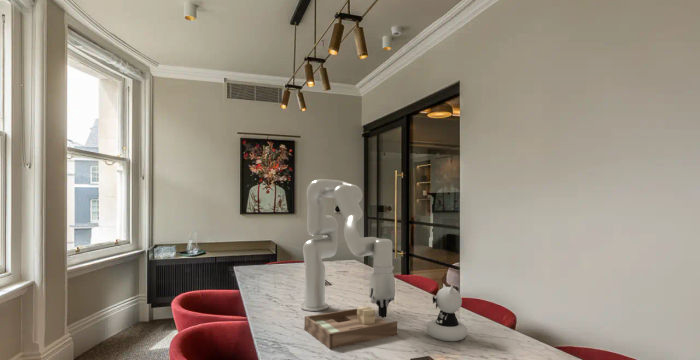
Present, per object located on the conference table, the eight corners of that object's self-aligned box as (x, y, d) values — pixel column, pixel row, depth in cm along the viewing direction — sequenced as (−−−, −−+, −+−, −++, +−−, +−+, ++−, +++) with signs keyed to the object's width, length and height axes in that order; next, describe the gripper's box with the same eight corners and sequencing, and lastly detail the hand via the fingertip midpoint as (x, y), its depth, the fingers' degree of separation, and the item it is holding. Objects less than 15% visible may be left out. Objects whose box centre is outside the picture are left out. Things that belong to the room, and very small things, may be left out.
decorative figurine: (422, 329, 150) (422, 277, 151) (458, 329, 152) (458, 277, 153) (433, 343, 136) (433, 286, 137) (473, 343, 137) (473, 285, 138)
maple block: (357, 320, 151) (357, 307, 151) (367, 319, 153) (367, 306, 153) (363, 324, 146) (363, 311, 147) (374, 322, 149) (374, 309, 149)
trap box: (304, 329, 149) (304, 316, 149) (366, 319, 163) (366, 307, 163) (330, 349, 130) (330, 334, 130) (397, 335, 144) (397, 321, 144)
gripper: (392, 267, 162) (392, 311, 161) (362, 270, 154) (361, 316, 153) (403, 270, 155) (403, 316, 154) (372, 273, 148) (371, 322, 147)
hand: (382, 316), depth 154 cm, fingers closed
